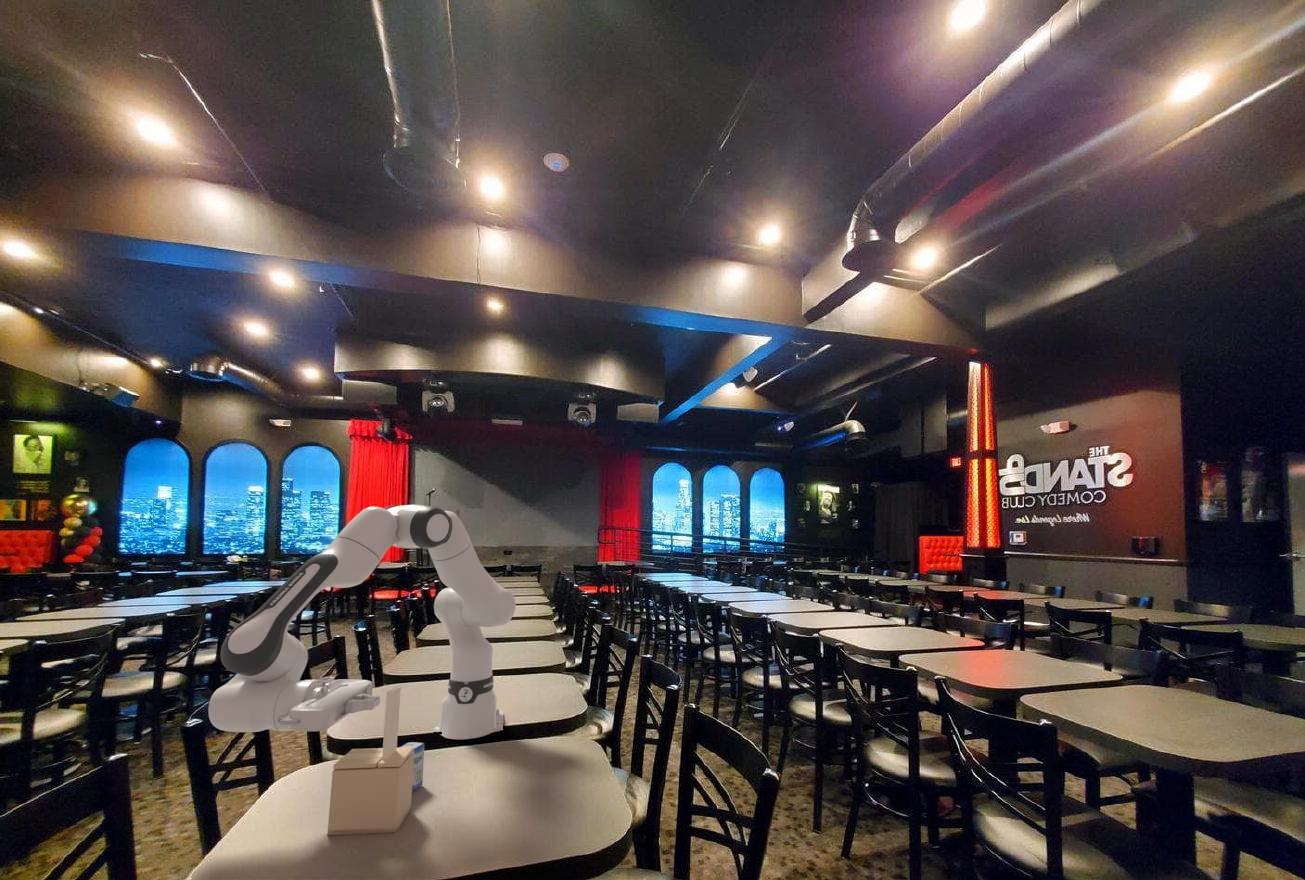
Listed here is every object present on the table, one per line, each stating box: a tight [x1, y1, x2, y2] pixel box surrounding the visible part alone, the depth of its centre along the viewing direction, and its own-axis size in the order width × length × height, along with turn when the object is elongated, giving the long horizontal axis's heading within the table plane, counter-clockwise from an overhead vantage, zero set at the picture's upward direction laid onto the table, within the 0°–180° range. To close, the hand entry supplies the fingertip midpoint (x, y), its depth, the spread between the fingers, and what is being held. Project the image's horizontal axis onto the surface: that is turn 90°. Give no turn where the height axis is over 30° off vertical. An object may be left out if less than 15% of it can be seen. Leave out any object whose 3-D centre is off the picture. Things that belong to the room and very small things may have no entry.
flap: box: [378, 686, 414, 767], centre depth 107 cm, size 8×4×13 cm, turn 4°
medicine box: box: [400, 741, 425, 793], centre depth 117 cm, size 8×4×9 cm, turn 168°
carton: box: [326, 747, 414, 836], centre depth 105 cm, size 8×12×12 cm, turn 95°
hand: (377, 702), depth 108 cm, fingers closed
